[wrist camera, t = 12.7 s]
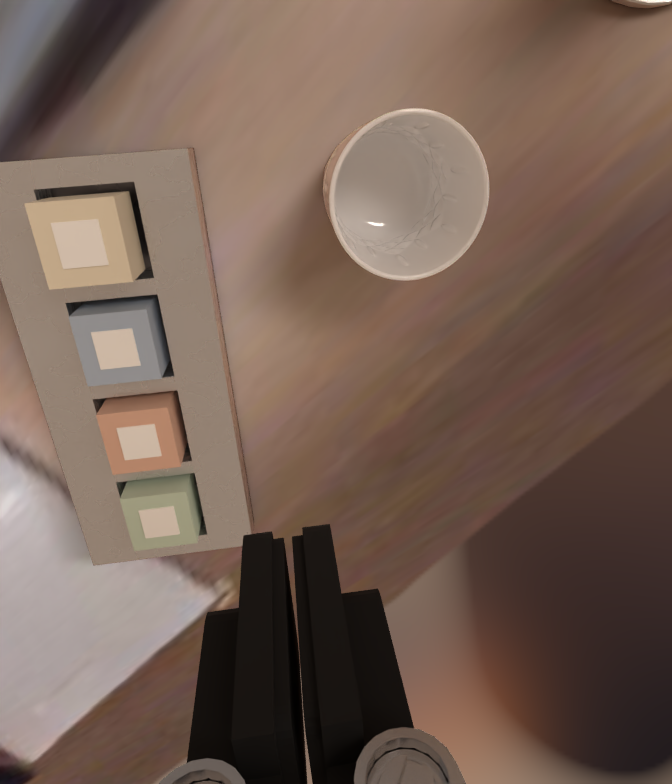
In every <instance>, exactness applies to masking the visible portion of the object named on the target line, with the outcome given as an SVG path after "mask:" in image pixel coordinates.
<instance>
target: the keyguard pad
mask: <svg viewBox="0 0 672 784" xmlns="http://www.w3.org/2000/svg"><path fill="white" fill-rule="evenodd" d="M123 191H129V193H130V198H131V203H132V207H133V212H134V217H135V222H136V226H137V231H138V236H139V240H140V245H141V250H142V254H143V259H144V264H145V270H144V271H143V272H142V273H141V274H140V275H139V276H138V277H137V278H136V279H135V280H134V282H127V283H117V284H106V285H95V286H85V287H74V288H63V289H52V290H49V287H48V284H47V280H46V277H45V273H44V270H43V267H42V263H41V260H40V256H39V253H38V249H37V246H36V242H35V239H34V236H33V232H32V229H31V225H30V222H29V218H28V215H27V211H26V208H25V205H24V203H28V202H32V201H36V200H41V199H45V198H49V197H61V196H73V195H86V194H98V193H111V192H123ZM0 279H1V282H2V285H3V288H4V291H5V294H6V298H7V301H8V304H9V307H10V310H11V313H12V316H13V319H14V322H15V325H16V328H17V331H18V334H19V337H20V341H21V344H22V347H23V350H24V353H25V356H26V359H27V362H28V365H29V368H30V371H31V374H32V377H33V381H34V384H35V387H36V390H37V393H38V396H39V399H40V402H41V405H42V408H43V411H44V414H45V417H46V420H47V424H48V427H49V430H50V433H51V436H52V439H53V442H54V445H55V448H56V451H57V454H58V457H59V460H60V464H61V467H62V470H63V473H64V476H65V479H66V482H67V485H68V488H69V491H70V494H71V497H72V500H73V504H74V507H75V510H76V513H77V516H78V519H79V522H80V525H81V528H82V531H83V534H84V537H85V540H86V543H87V547H88V550H89V553H90V556H91V559H92V562H93V565H101V564H109V563H117V562H124V561H132V560H140V559H147V558H155V557H163V556H170V555H178V554H186V553H193V552H201V551H209V550H216V549H224V548H231V547H239V546H243V536H244V535H249V534H254V518H253V511H252V505H251V499H250V493H249V487H248V480H247V474H246V468H245V462H244V456H243V449H242V443H241V437H240V431H239V425H238V419H237V412H236V406H235V400H234V394H233V388H232V381H231V375H230V369H229V363H228V357H227V351H226V344H225V338H224V332H223V326H222V320H221V313H220V307H219V301H218V295H217V289H216V282H215V276H214V270H213V264H212V258H211V252H210V245H209V239H208V233H207V227H206V221H205V214H204V208H203V202H202V196H201V190H200V184H199V177H198V171H197V165H196V159H195V153H194V148H184V149H171V150H158V151H145V152H132V153H118V154H105V155H92V156H79V157H66V158H52V159H39V160H26V161H13V162H0ZM149 295H157V298H158V303H159V308H160V312H161V317H162V322H163V327H164V331H165V336H166V341H167V346H168V351H169V355H170V361H169V363H168V365H167V368H166V370H165V372H164V374H163V376H162V379H155V380H146V381H136V382H127V383H118V384H108V385H99V386H89V387H88V385H87V381H86V378H85V374H84V371H83V367H82V364H81V360H80V356H79V353H78V349H77V346H76V342H75V339H74V335H73V332H72V328H71V325H70V321H69V316H70V315H71V314H72V313H73V312H75V311H76V310H77V309H78V308H79V307H80V306H81V305H83V304H84V303H85V302H86V301H97V300H107V299H118V298H128V297H139V296H149ZM175 390H177V394H178V399H179V404H180V408H181V413H182V418H183V423H184V428H185V432H186V437H187V445H186V449H185V453H184V456H183V460H182V464H181V467H175V468H167V469H158V470H150V471H142V472H133V473H125V474H116V475H113V474H112V470H111V467H110V463H109V460H108V456H107V453H106V449H105V445H104V442H103V438H102V435H101V431H100V428H99V424H98V421H97V417H96V415H97V413H98V411H99V410H100V408H101V407H102V405H103V403H104V402H105V400H106V399H107V398H111V397H120V396H129V395H138V394H147V393H157V392H166V391H175ZM190 473H194V476H195V480H196V485H197V490H198V495H199V500H200V504H201V509H202V519H201V525H200V531H199V536H198V542H197V543H194V544H186V545H178V546H170V547H163V548H155V549H147V550H140V551H134V549H133V545H132V542H131V538H130V534H129V531H128V527H127V524H126V520H125V517H124V513H123V510H122V506H121V502H120V498H121V495H122V493H123V490H124V488H125V486H126V483H127V481H132V480H140V479H149V478H157V477H165V476H174V475H182V474H190Z"/></svg>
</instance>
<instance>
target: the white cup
mask: <svg viewBox="0 0 672 784" xmlns="http://www.w3.org/2000/svg"><path fill="white" fill-rule="evenodd" d="M323 197H324V203H325V207H326V211H327V215H328V217H329V220H330V222H331V224H332V227H333V229H334V231H335V233H336V236H337V238H338V240H339V242H340V243H341V245H342V247H343V248H344V250H345V251H346V252H347V254H348V255H349V256H350V257H351V258H352V259H353V260H354V261H355V262H356V263H357V264H358V265H360V266H361V267H362V268H364V269H365V270H367V271H369V272H370V273H372V274H375V275H377V276H380V277H383V278H386V279H391V280H398V281H410V280H417V279H422V278H426V277H429V276H432V275H434V274H437V273H439V272H441V271H442V270H444V269H446V268H447V267H449V266H450V265H452V264H453V263H454V262H456V261H457V260H458V259H459V258H460V257H461V256H462V255H463V254H464V253H465V252H466V251H467V250H468V248H469V247H470V246H471V244H472V243H473V241H474V240H475V238H476V237H477V235H478V233H479V231H480V229H481V227H482V224H483V222H484V219H485V216H486V212H487V208H488V202H489V176H488V170H487V166H486V162H485V159H484V157H483V154H482V152H481V150H480V148H479V146H478V144H477V143H476V141H475V140H474V138H473V137H472V136H471V134H470V133H469V132H468V131H467V130H466V129H465V128H464V127H463V126H462V125H460V124H459V123H458V122H457V121H455V120H454V119H452V118H450V117H449V116H447V115H444V114H442V113H440V112H437V111H433V110H429V109H423V108H406V109H400V110H395V111H392V112H389V113H386V114H384V115H381V116H379V117H377V118H376V119H374V120H372V121H370V122H368V123H366V124H364V125H362V126H360V127H359V128H357V129H356V130H355V131H353V132H352V133H351V134H349V135H348V136H347V137H346V138H345V139H344V140H343V141H342V142H341V143H340V144H338V145H337V147H336V148H335V150H334V152H333V154H332V155H331V157H330V159H329V161H328V163H327V165H326V166H325V170H324V180H323Z"/></svg>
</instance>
